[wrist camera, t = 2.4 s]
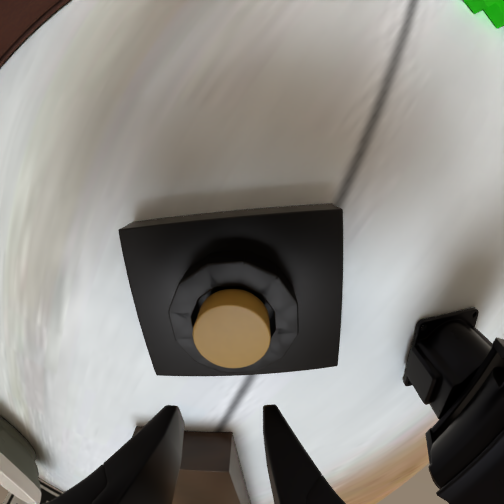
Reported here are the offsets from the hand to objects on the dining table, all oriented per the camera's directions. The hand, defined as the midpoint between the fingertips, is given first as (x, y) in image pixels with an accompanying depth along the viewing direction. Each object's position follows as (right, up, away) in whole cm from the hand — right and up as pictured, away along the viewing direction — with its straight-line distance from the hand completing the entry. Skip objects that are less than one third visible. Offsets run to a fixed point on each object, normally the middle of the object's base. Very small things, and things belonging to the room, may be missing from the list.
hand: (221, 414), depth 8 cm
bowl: (-39, -25, +19) cm, 50 cm away
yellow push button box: (0, +3, +10) cm, 10 cm away
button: (0, +2, +6) cm, 6 cm away
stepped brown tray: (-4, -20, +17) cm, 26 cm away
